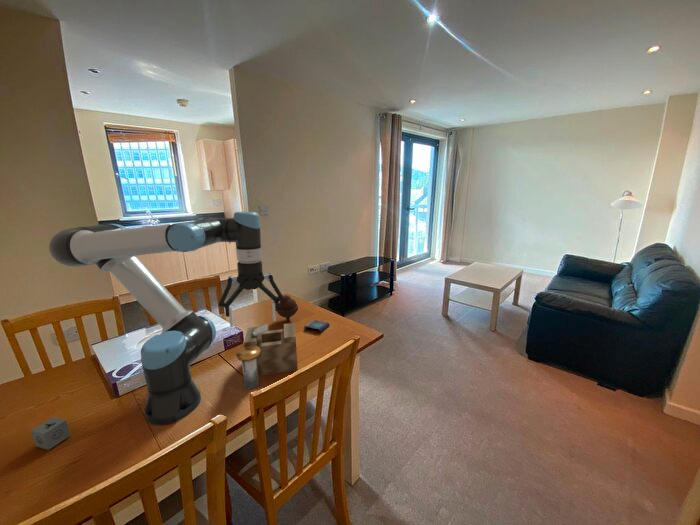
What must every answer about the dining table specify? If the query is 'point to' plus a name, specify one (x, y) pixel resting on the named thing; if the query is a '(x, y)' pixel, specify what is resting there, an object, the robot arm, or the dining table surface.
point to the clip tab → (260, 330)
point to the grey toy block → (50, 433)
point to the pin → (249, 365)
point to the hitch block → (274, 349)
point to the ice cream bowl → (287, 307)
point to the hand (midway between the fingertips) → (253, 322)
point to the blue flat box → (317, 325)
